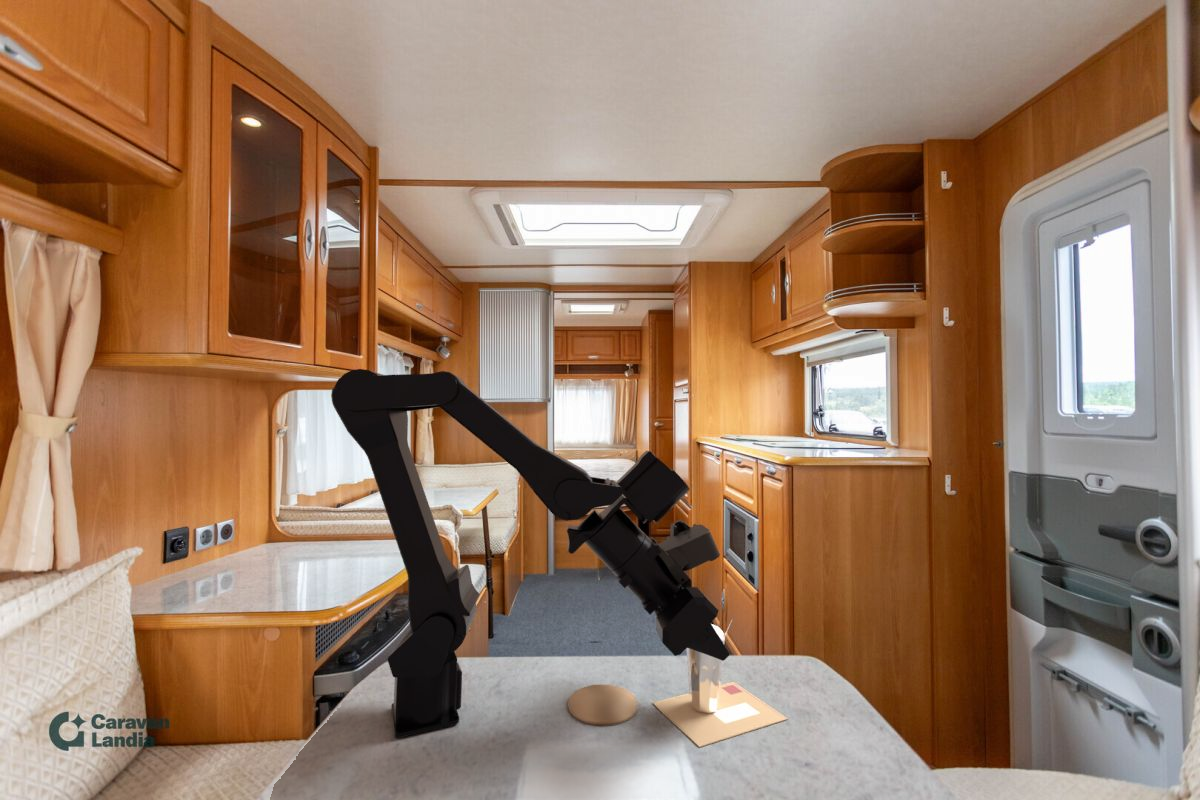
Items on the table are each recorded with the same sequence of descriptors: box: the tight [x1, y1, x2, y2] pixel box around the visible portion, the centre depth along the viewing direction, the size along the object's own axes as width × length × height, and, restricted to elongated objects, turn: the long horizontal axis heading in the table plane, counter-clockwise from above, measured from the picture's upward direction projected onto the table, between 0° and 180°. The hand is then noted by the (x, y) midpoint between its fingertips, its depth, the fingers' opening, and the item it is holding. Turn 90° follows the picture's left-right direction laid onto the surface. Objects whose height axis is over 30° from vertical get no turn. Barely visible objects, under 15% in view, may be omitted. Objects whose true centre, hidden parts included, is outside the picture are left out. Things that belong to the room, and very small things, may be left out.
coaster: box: [567, 683, 638, 727], centre depth 58 cm, size 8×8×1 cm
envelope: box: [652, 681, 788, 748], centre depth 57 cm, size 12×9×1 cm
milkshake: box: [685, 619, 733, 713], centre depth 58 cm, size 4×5×10 cm
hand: (720, 648), depth 59 cm, fingers closed on milkshake, 4 cm apart
